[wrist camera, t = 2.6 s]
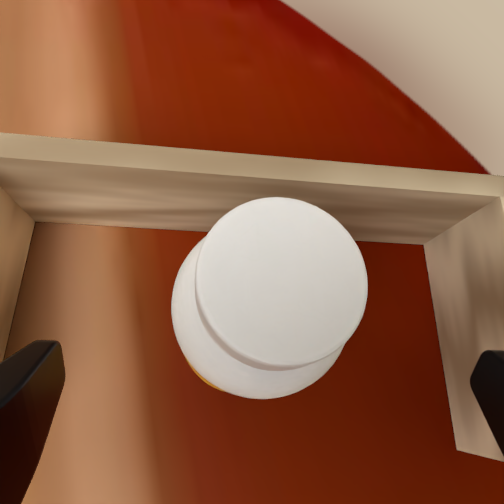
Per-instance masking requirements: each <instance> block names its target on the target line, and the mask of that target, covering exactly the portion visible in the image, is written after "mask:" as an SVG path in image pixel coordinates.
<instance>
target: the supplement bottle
mask: <svg viewBox="0 0 504 504" xmlns="http://www.w3.org/2000/svg"><path fill="white" fill-rule="evenodd" d="M367 293H368V281H367V272H366V268H365V263H364V260H363V257H362V255H361V252H360V250H359V248H358V246H357V244H356V243H355V241H354V240H353V238H352V237H351V235H350V234H349V232H348V231H347V230H346V229H345V228H344V227H343V226H342V225H341V224H340V223H339V222H338V221H337V220H336V219H335V218H334V217H332V216H331V215H330V214H328V213H327V212H325V211H323V210H322V209H320V208H318V207H317V206H314V205H312V204H309V203H307V202H304V201H301V200H297V199H292V198H283V197H268V198H261V199H256V200H252V201H249V202H247V203H244V204H242V205H240V206H237V207H236V208H234V209H233V210H231V211H229V212H228V213H227V214H225V215H224V216H223V217H222V218H220V219H219V220H218V222H217V223H216V224H215V225H214V226H213V227H212V229H211V230H210V231H209V233H208V234H207V236H206V237H204V238H203V239H202V240H201V241H200V242H199V243H198V244H197V245H196V246H195V247H194V248H193V249H192V251H191V252H190V253H189V254H188V256H187V257H186V259H185V261H184V262H183V264H182V265H181V267H180V269H179V272H178V275H177V277H176V280H175V284H174V288H173V293H172V303H171V312H172V321H173V327H174V331H175V335H176V338H177V341H178V344H179V346H180V348H181V350H182V352H183V354H184V356H185V358H186V360H187V362H188V364H189V365H190V367H191V368H192V370H193V371H194V372H195V373H196V375H197V376H198V377H200V378H201V379H202V380H203V381H204V382H206V383H207V384H208V385H210V386H212V387H214V388H216V389H218V390H221V391H224V392H228V393H231V394H234V395H237V396H241V397H246V398H252V399H271V398H278V397H283V396H287V395H290V394H293V393H296V392H298V391H300V390H302V389H304V388H306V387H308V386H309V385H311V384H313V383H314V382H315V381H317V380H318V379H319V378H321V377H322V376H323V375H324V374H325V373H326V372H327V371H328V370H329V369H330V368H331V366H332V365H333V364H334V362H335V361H336V359H337V358H338V356H339V355H340V353H341V351H342V349H343V347H344V345H345V343H346V342H347V341H348V339H349V338H350V337H351V336H352V335H353V333H354V332H355V330H356V328H357V327H358V325H359V323H360V321H361V319H362V316H363V313H364V310H365V306H366V301H367Z"/></svg>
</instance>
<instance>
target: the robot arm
mask: <svg viewBox="0 0 504 504" xmlns="http://www.w3.org/2000/svg"><path fill="white" fill-rule="evenodd" d="M64 382H65V367H64V361H63V355H62V348H61V345H60V343H59V342H58V341H56V340H37V341H34V342H32V343H31V344H29V345H27V346H26V347H24V348H23V349H21V350H20V351H18V352H16V353H15V354H13V355H12V356H10V357H9V358H7V359H5V360H4V361H2V362H1V363H0V504H21V503H22V501H23V498H24V496H25V494H26V491H27V489H28V487H29V485H30V482H31V480H32V478H33V475H34V473H35V471H36V468H37V466H38V463H39V460H40V458H41V455H42V452H43V449H44V446H45V442H46V439H47V436H48V433H49V430H50V427H51V424H52V421H53V417H54V414H55V411H56V408H57V405H58V402H59V399H60V395H61V392H62V389H63V386H64ZM470 387H471V389H472V392H473V394H474V396H475V398H476V400H477V402H478V404H479V406H480V408H481V411H482V413H483V415H484V417H485V419H486V421H487V423H488V425H489V428H490V430H491V432H492V434H493V436H494V438H495V440H496V442H497V444H498V446H499V448H500V450H501V452H502V454H503V456H504V351H503V350H486V351H484V352H482V353H481V355H480V357H479V359H478V361H477V363H476V365H475V367H474V370H473V372H472V374H471V376H470Z"/></svg>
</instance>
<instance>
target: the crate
mask: <svg viewBox="0 0 504 504" xmlns="http://www.w3.org/2000/svg"><path fill="white" fill-rule="evenodd" d="M268 197H283V198H292V199H297V200H301V201H304V202H307V203H309V204H312V205H314V206H317V207H318V208H320V209H322V210H323V211H325V212H327V213H328V214H330V215H331V216H332V217H334V218H335V219H336V220H337V221H338V222H339V223H340V224H341V225H342V226H343V227H344V228H345V229H346V230H347V231H348V232H349V234H350V235H351V237H352V238H353V240H354V241H370V242H387V243H403V244H420V245H424V251H425V257H426V264H427V270H428V276H429V282H430V288H431V294H432V301H433V307H434V313H435V319H436V325H437V331H438V338H439V344H440V350H441V356H442V362H443V368H444V375H445V381H446V387H447V393H448V399H449V405H450V412H451V418H452V424H453V430H454V436H455V442H456V449H457V450H459V451H463V452H467V453H471V454H475V455H479V456H483V457H487V458H491V459H495V460H499V461H503V462H504V456H503V454H502V452H501V450H500V448H499V446H498V444H497V442H496V440H495V438H494V436H493V434H492V432H491V430H490V428H489V425H488V423H487V421H486V419H485V417H484V415H483V413H482V411H481V408H480V406H479V404H478V402H477V400H476V398H475V396H474V394H473V392H472V389H471V387H470V376H471V374H472V372H473V370H474V367H475V365H476V363H477V361H478V359H479V357H480V355H481V353H482V352H484V351H486V350H503V351H504V176H496V175H485V174H473V173H462V172H450V171H439V170H427V169H416V168H404V167H392V166H381V165H369V164H358V163H346V162H335V161H323V160H311V159H300V158H288V157H277V156H265V155H254V154H242V153H230V152H219V151H207V150H196V149H184V148H173V147H161V146H149V145H138V144H126V143H115V142H103V141H92V140H80V139H68V138H57V137H45V136H34V135H22V134H11V133H0V363H1V362H2V361H3V358H4V354H5V350H6V345H7V341H8V337H9V332H10V328H11V324H12V320H13V315H14V311H15V307H16V302H17V298H18V294H19V289H20V285H21V281H22V276H23V272H24V268H25V263H26V259H27V255H28V250H29V246H30V242H31V237H32V233H33V229H34V224H35V222H52V223H68V224H85V225H102V226H119V227H135V228H152V229H169V230H186V231H202V232H209V231H210V230H211V229H212V227H213V226H214V225H215V224H216V223H217V222H218V220H219V219H220V218H222V217H223V216H224V215H225V214H227V213H228V212H229V211H231V210H233V209H234V208H236V207H237V206H240V205H242V204H244V203H247V202H249V201H252V200H256V199H261V198H268Z"/></svg>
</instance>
